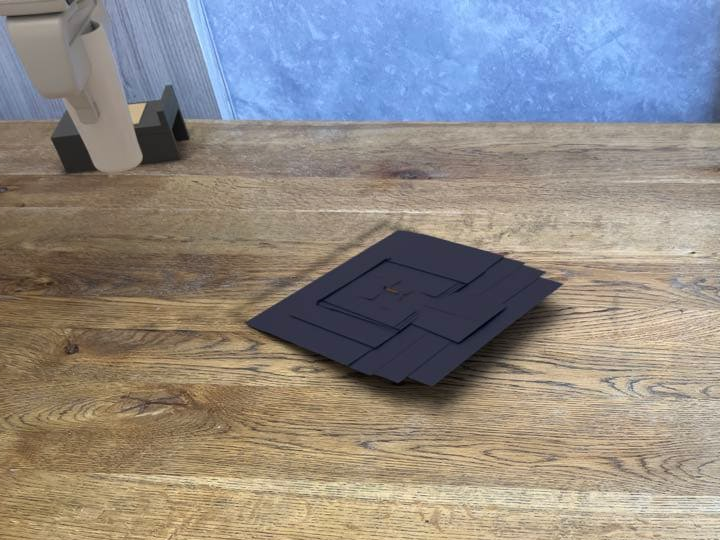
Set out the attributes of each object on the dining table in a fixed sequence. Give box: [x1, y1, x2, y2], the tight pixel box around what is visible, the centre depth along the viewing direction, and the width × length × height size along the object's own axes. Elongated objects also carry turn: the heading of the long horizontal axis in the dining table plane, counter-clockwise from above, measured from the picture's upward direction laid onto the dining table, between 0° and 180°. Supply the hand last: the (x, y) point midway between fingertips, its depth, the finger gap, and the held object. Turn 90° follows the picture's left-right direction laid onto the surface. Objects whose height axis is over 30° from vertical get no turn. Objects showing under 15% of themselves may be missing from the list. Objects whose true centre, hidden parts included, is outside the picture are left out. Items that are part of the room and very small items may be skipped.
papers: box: [244, 229, 564, 387], centre depth 90 cm, size 24×30×4 cm
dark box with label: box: [50, 84, 191, 174], centre depth 121 cm, size 16×10×8 cm, turn 102°
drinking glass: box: [60, 20, 143, 174], centre depth 90 cm, size 7×7×15 cm
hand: (98, 107), depth 90 cm, fingers closed on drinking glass, 6 cm apart
